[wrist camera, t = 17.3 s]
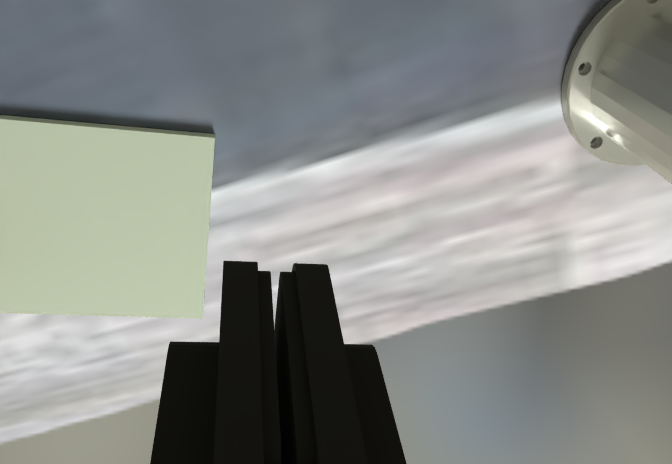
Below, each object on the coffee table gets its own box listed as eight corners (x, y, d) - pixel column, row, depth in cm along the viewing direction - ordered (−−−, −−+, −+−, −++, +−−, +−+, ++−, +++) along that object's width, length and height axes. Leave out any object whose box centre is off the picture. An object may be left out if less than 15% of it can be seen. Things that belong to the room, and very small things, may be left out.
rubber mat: (214, 134, 39) (214, 137, 39) (202, 313, 46) (202, 318, 46) (-216, 95, 34) (-222, 99, 34) (-158, 302, 41) (-163, 308, 41)
